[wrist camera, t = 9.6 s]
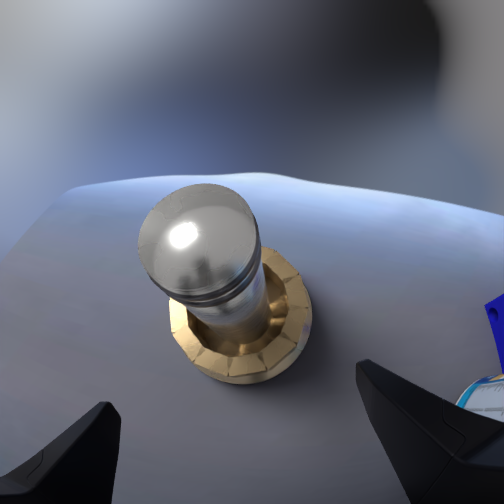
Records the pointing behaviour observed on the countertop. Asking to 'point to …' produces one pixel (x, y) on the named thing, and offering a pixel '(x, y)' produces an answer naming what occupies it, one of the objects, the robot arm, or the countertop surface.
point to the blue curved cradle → (497, 324)
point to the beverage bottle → (485, 397)
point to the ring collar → (262, 350)
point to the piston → (209, 259)
